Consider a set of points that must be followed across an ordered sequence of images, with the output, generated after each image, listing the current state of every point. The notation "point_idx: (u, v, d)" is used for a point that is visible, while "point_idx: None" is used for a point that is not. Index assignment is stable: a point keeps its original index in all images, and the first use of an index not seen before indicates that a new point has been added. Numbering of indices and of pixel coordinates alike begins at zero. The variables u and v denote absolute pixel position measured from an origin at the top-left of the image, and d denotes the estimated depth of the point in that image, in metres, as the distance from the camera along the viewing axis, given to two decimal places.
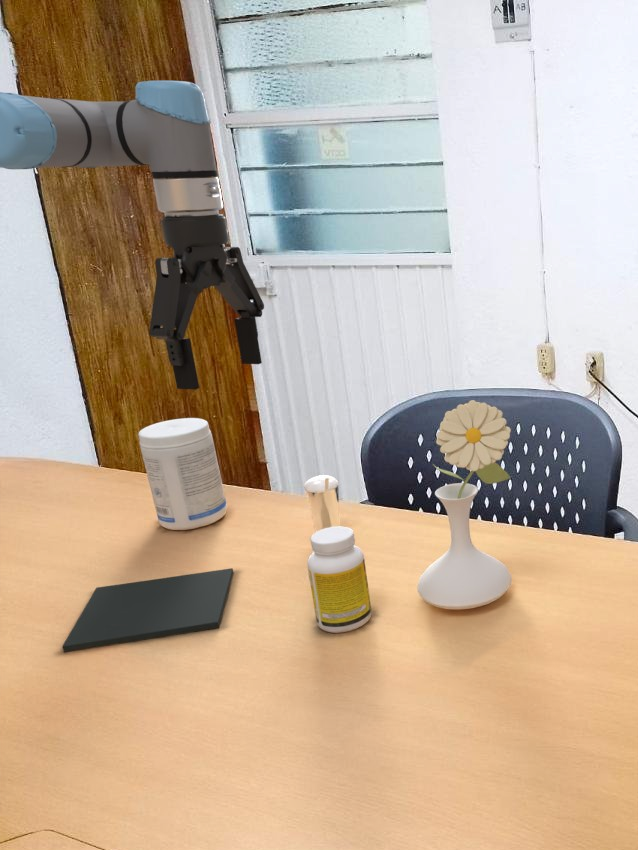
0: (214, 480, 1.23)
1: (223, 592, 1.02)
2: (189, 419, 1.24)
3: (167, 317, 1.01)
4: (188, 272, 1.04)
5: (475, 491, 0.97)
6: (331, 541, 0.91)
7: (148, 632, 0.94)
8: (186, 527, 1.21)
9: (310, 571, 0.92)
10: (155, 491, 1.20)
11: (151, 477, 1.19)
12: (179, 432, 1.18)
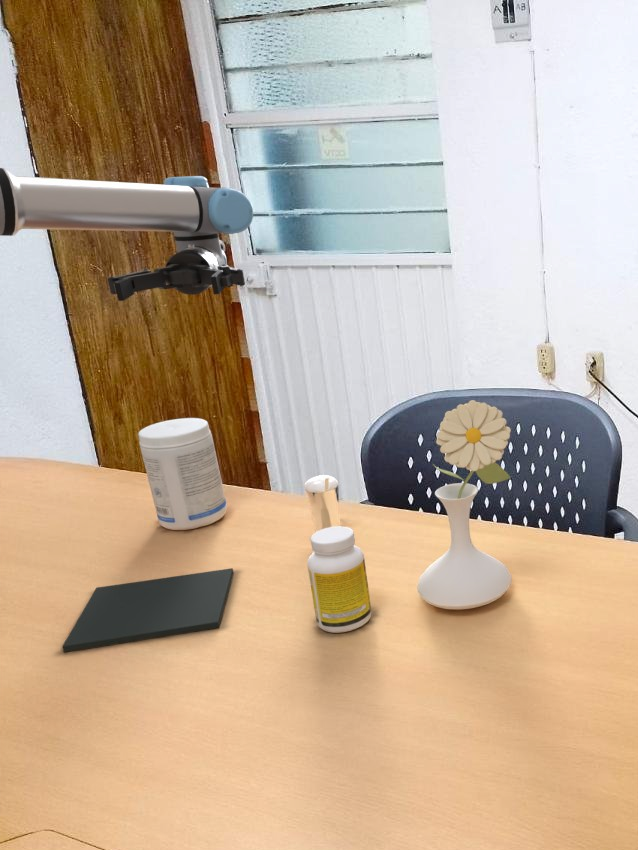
0: (214, 480, 1.23)
1: (223, 592, 1.02)
2: (189, 419, 1.24)
3: (116, 276, 1.34)
4: None
5: (475, 491, 0.97)
6: (331, 541, 0.91)
7: (148, 632, 0.94)
8: (186, 527, 1.21)
9: (310, 571, 0.92)
10: (155, 491, 1.20)
11: (151, 477, 1.19)
12: (179, 432, 1.18)
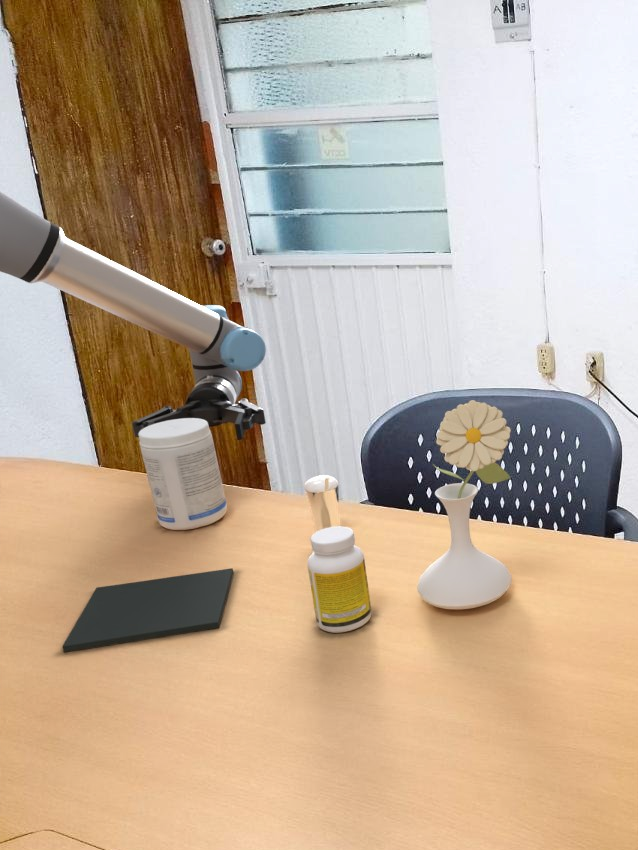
0: (214, 480, 1.23)
1: (223, 592, 1.02)
2: (189, 419, 1.24)
3: (139, 419, 1.37)
4: None
5: (475, 491, 0.97)
6: (331, 541, 0.91)
7: (148, 632, 0.94)
8: (186, 527, 1.21)
9: (310, 571, 0.92)
10: (155, 491, 1.20)
11: (151, 477, 1.19)
12: (179, 432, 1.18)
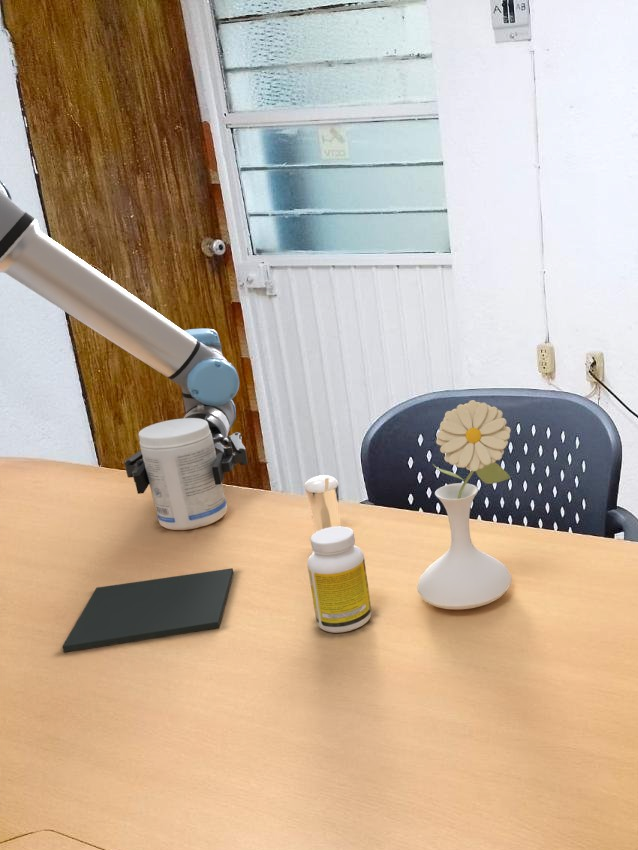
0: (214, 480, 1.23)
1: (223, 592, 1.02)
2: (189, 419, 1.24)
3: (130, 457, 1.25)
4: None
5: (475, 491, 0.97)
6: (331, 541, 0.91)
7: (148, 632, 0.94)
8: (186, 527, 1.21)
9: (310, 571, 0.92)
10: (155, 491, 1.20)
11: (151, 477, 1.19)
12: (179, 432, 1.18)
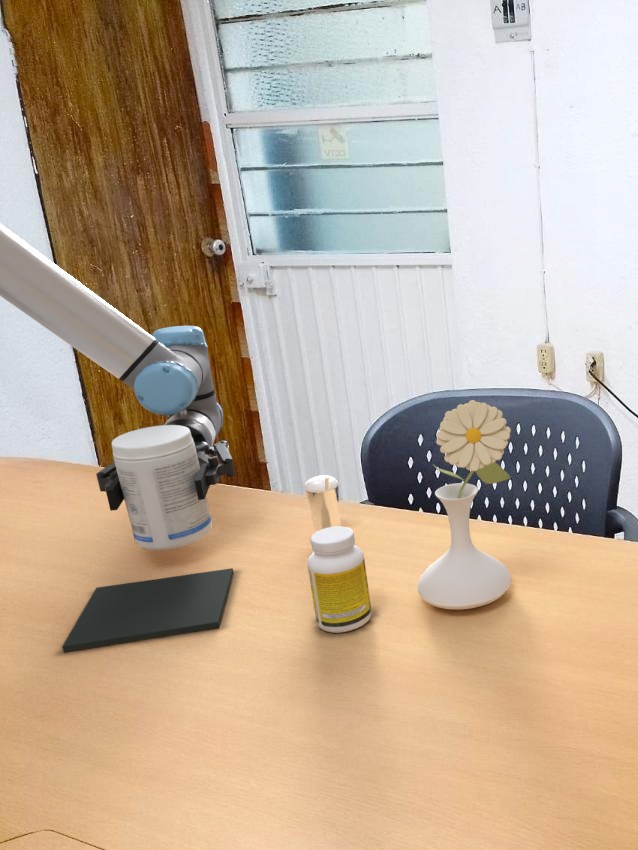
0: None
1: (223, 592, 1.02)
2: (169, 426, 1.11)
3: (103, 469, 1.12)
4: None
5: (475, 491, 0.97)
6: (331, 541, 0.91)
7: (148, 632, 0.94)
8: (166, 548, 1.08)
9: (310, 571, 0.92)
10: (131, 507, 1.07)
11: (126, 492, 1.06)
12: (157, 441, 1.05)
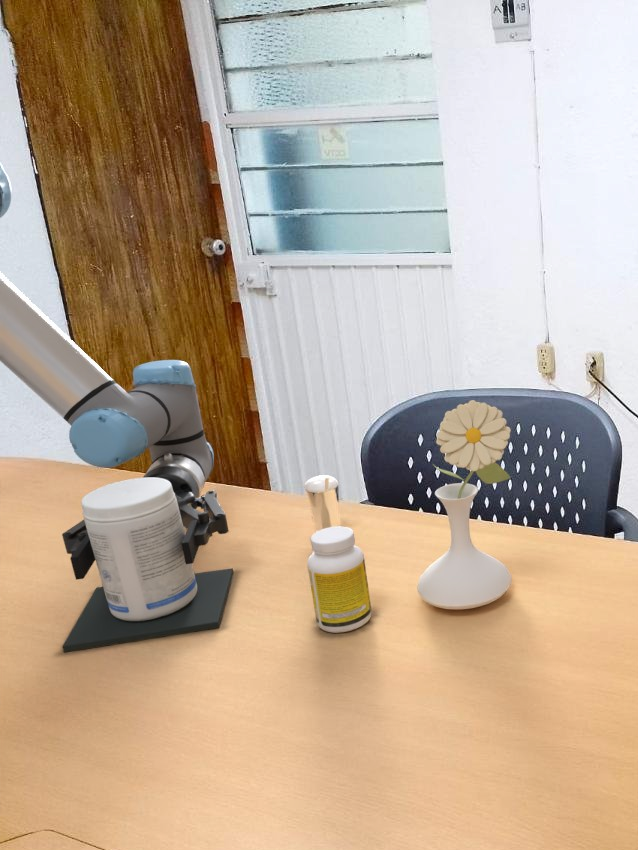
0: (180, 558, 0.97)
1: (223, 592, 1.02)
2: (148, 479, 0.98)
3: (72, 527, 1.00)
4: None
5: (475, 491, 0.97)
6: (331, 541, 0.91)
7: (148, 632, 0.94)
8: (144, 618, 0.95)
9: (310, 571, 0.92)
10: (103, 574, 0.94)
11: (98, 556, 0.93)
12: (133, 499, 0.93)
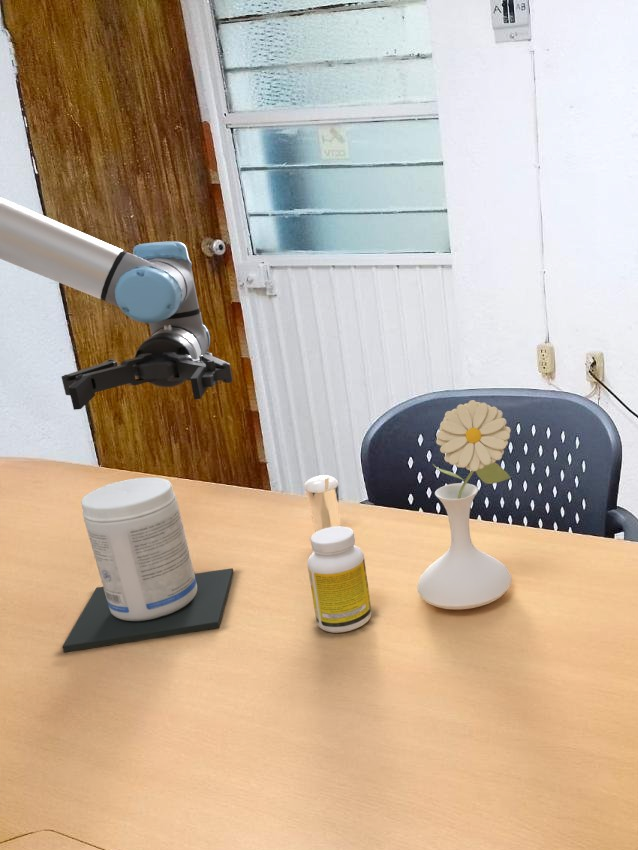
0: (180, 558, 0.97)
1: (223, 592, 1.02)
2: (148, 479, 0.98)
3: (73, 373, 1.09)
4: None
5: (475, 491, 0.97)
6: (331, 541, 0.91)
7: (148, 632, 0.94)
8: (144, 618, 0.95)
9: (310, 571, 0.92)
10: (103, 574, 0.94)
11: (98, 556, 0.93)
12: (133, 499, 0.93)
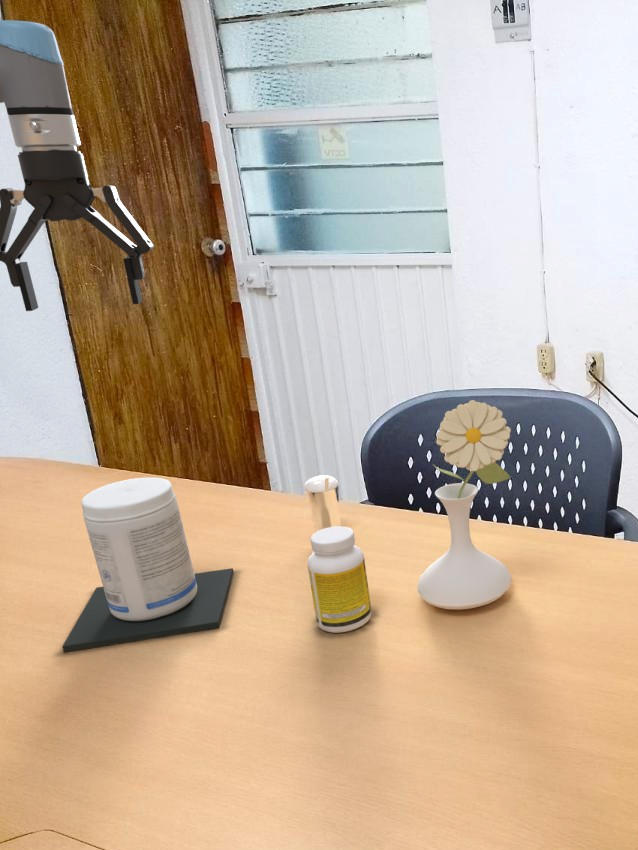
0: (180, 558, 0.97)
1: (223, 592, 1.02)
2: (148, 479, 0.98)
3: None
4: None
5: (475, 491, 0.97)
6: (331, 541, 0.91)
7: (148, 632, 0.94)
8: (144, 618, 0.95)
9: (310, 571, 0.92)
10: (103, 574, 0.94)
11: (98, 556, 0.93)
12: (133, 499, 0.93)
